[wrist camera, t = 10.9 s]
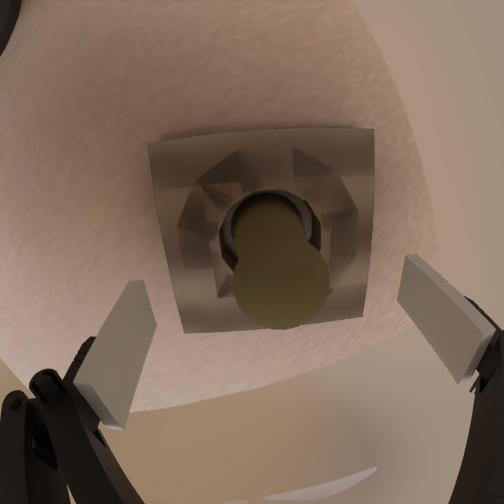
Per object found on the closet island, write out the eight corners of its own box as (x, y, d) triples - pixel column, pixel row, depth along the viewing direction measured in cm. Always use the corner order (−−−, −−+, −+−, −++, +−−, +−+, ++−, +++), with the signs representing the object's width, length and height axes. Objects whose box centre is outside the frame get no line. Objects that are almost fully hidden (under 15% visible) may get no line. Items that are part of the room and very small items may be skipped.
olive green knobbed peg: (226, 196, 23) (213, 249, 12) (301, 189, 23) (348, 235, 12) (235, 264, 25) (231, 351, 15) (303, 257, 25) (340, 338, 15)
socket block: (159, 142, 21) (147, 143, 18) (358, 129, 21) (373, 129, 18) (189, 314, 27) (184, 333, 24) (352, 299, 27) (362, 316, 24)
